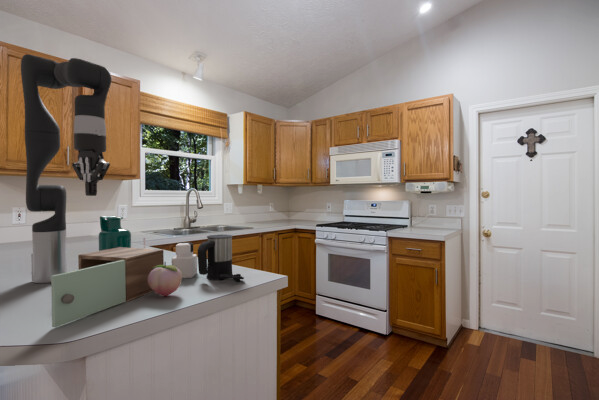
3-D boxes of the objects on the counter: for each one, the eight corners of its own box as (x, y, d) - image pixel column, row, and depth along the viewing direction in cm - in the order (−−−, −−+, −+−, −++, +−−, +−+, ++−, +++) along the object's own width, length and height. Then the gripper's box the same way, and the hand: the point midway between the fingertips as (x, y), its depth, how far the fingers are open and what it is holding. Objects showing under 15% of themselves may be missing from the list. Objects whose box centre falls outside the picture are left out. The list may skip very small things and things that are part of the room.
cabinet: (79, 295, 90) (78, 254, 90) (120, 282, 104) (119, 247, 103) (127, 301, 85) (126, 258, 85) (163, 287, 98) (163, 249, 98)
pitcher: (133, 276, 112) (133, 215, 111) (109, 282, 104) (108, 217, 104) (119, 273, 117) (118, 215, 117) (95, 278, 110) (94, 216, 110)
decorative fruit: (188, 292, 92) (188, 259, 92) (171, 301, 84) (171, 265, 84) (161, 290, 94) (161, 258, 94) (142, 299, 86) (141, 264, 86)
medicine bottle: (177, 273, 116) (177, 241, 115) (197, 273, 116) (196, 241, 116) (171, 278, 108) (171, 244, 108) (192, 277, 109) (191, 244, 109)
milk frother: (214, 273, 116) (214, 233, 116) (254, 275, 112) (253, 234, 112) (193, 283, 102) (193, 239, 102) (238, 286, 99) (237, 240, 98)
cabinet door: (58, 328, 67) (57, 276, 67) (52, 326, 67) (51, 275, 67) (129, 301, 83) (128, 260, 83) (122, 301, 84) (122, 260, 84)
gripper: (60, 133, 86) (61, 195, 86) (92, 130, 81) (93, 196, 81) (87, 137, 93) (88, 195, 93) (119, 135, 88) (119, 195, 88)
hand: (91, 195), depth 87 cm, fingers closed
